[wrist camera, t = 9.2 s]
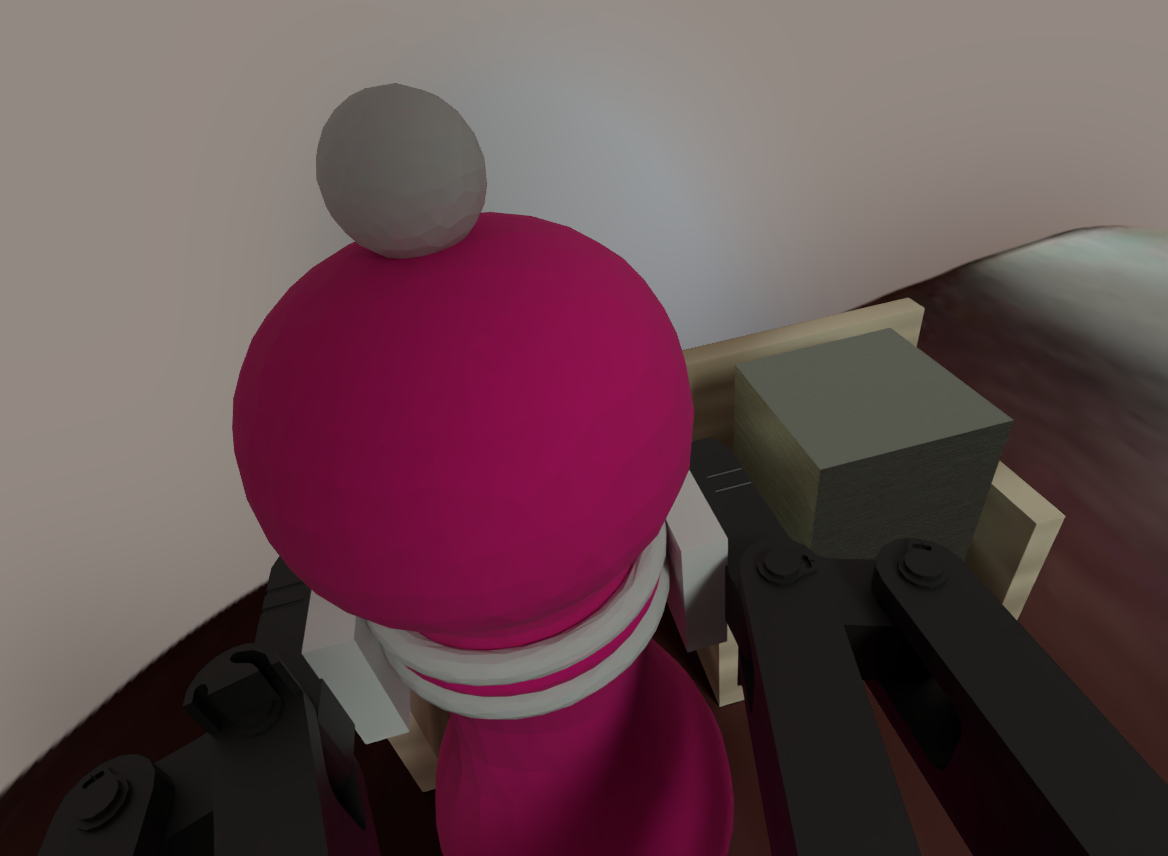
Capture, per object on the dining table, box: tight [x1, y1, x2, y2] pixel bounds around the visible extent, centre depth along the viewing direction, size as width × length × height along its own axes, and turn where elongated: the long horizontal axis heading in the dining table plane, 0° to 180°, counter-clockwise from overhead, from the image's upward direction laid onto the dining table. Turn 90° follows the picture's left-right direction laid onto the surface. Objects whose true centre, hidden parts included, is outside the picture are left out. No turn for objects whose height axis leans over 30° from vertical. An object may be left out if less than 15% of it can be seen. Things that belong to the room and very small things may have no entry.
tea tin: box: [734, 328, 1013, 562], centre depth 22 cm, size 6×6×10 cm
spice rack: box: [388, 298, 1065, 792], centre depth 23 cm, size 9×22×9 cm, turn 102°
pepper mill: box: [232, 83, 734, 856], centre depth 12 cm, size 7×7×20 cm
